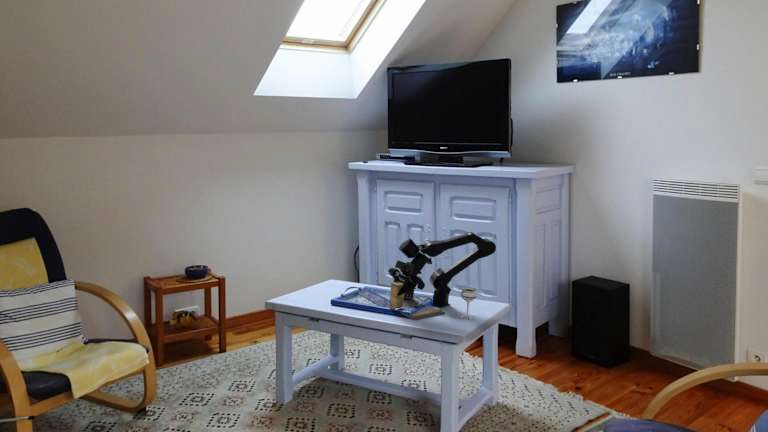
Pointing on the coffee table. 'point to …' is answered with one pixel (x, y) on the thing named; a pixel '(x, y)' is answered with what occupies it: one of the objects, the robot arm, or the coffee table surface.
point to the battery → (408, 293)
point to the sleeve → (394, 298)
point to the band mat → (425, 313)
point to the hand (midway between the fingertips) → (394, 293)
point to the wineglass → (468, 298)
